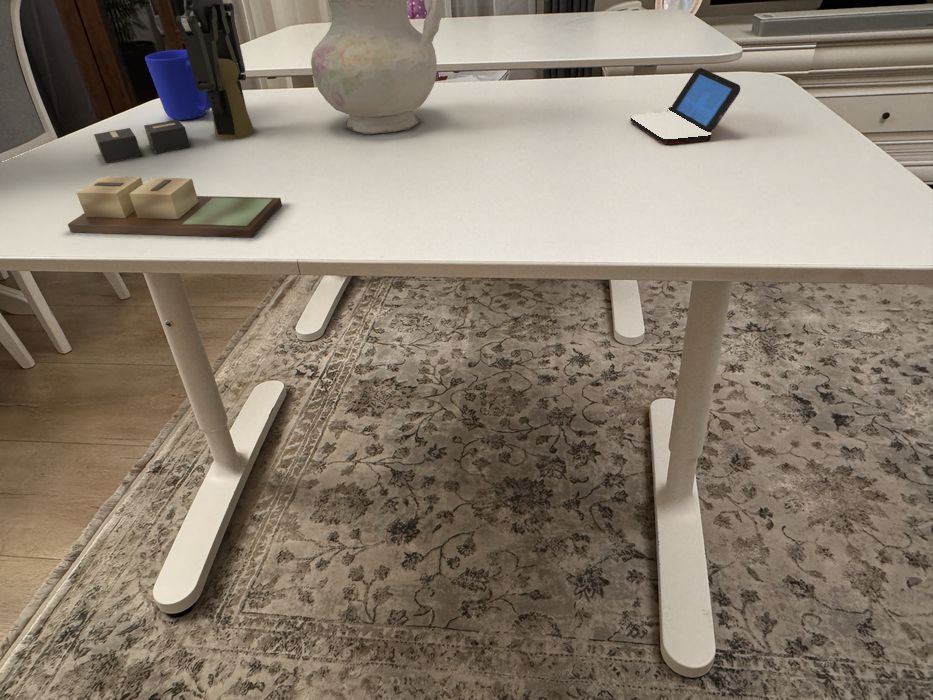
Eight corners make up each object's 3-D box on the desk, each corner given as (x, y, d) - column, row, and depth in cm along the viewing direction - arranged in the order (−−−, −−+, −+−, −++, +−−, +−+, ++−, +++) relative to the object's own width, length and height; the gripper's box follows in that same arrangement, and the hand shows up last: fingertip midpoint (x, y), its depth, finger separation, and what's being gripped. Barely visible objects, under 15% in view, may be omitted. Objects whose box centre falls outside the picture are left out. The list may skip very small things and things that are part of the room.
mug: (198, 128, 106) (180, 63, 100) (153, 119, 112) (134, 57, 106) (237, 115, 112) (222, 53, 106) (192, 107, 117) (176, 47, 111)
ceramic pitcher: (464, 116, 111) (460, -55, 98) (440, 142, 94) (431, -59, 82) (344, 115, 114) (325, -51, 101) (301, 140, 98) (272, -53, 85)
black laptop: (627, 122, 101) (632, 71, 97) (690, 116, 103) (699, 66, 98) (662, 146, 91) (670, 91, 87) (732, 139, 92) (744, 85, 88)
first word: (101, 154, 97) (93, 133, 95) (183, 138, 102) (177, 118, 100) (105, 163, 93) (97, 141, 91) (190, 146, 98) (184, 126, 96)
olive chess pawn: (239, 140, 100) (221, 64, 94) (207, 137, 102) (187, 63, 95) (261, 129, 105) (246, 56, 98) (231, 126, 106) (213, 54, 100)
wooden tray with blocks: (70, 232, 74) (56, 198, 71) (115, 201, 81) (103, 169, 79) (252, 237, 71) (243, 202, 68) (282, 205, 78) (275, 172, 76)
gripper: (187, -37, 82) (232, 146, 95) (244, -48, 96) (277, 113, 109) (133, -35, 83) (185, 146, 96) (197, -46, 97) (235, 113, 110)
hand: (234, 128), depth 103 cm, fingers closed on olive chess pawn, 4 cm apart
